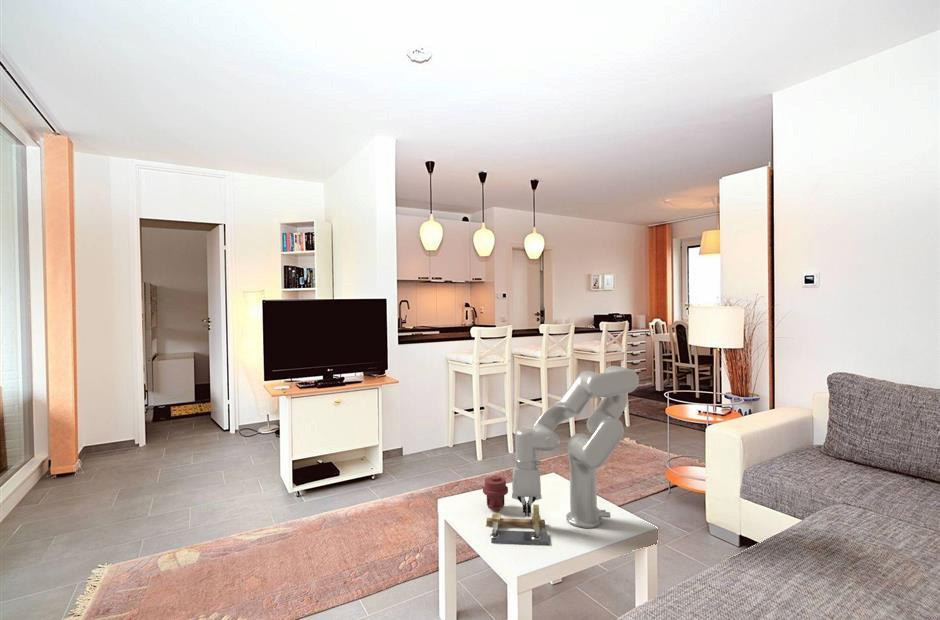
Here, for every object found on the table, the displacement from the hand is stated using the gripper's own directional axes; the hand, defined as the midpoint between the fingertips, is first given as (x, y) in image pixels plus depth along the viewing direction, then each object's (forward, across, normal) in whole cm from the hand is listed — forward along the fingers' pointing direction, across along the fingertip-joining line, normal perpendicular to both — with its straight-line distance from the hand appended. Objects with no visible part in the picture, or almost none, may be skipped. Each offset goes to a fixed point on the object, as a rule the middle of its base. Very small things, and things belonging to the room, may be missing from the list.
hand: (527, 514), depth 165 cm
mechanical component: (+4, +12, -14) cm, 19 cm away
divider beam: (+4, +4, +4) cm, 7 cm away
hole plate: (+4, +3, +10) cm, 11 cm away
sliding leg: (+4, -3, +4) cm, 7 cm away
